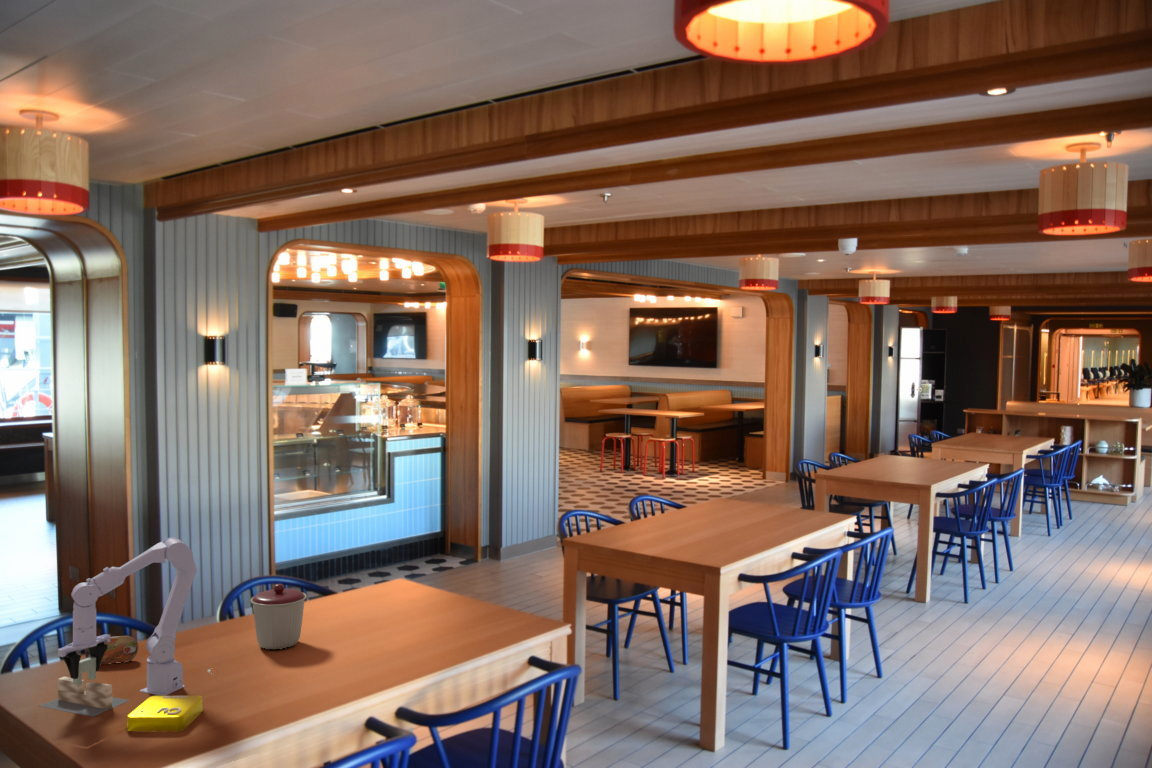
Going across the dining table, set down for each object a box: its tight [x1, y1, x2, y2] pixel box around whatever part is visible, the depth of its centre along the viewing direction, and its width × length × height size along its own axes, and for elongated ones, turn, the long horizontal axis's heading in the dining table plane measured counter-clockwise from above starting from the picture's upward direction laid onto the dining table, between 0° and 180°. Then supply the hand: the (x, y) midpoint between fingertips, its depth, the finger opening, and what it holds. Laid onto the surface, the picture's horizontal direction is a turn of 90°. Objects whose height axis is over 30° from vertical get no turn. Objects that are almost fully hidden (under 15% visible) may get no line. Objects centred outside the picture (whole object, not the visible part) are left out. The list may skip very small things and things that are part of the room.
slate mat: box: [39, 696, 130, 717], centre depth 240 cm, size 20×12×1 cm, turn 70°
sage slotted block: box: [73, 657, 97, 685], centre depth 239 cm, size 2×6×6 cm, turn 155°
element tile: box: [126, 694, 204, 733], centre depth 230 cm, size 15×15×5 cm
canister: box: [250, 583, 308, 650], centre depth 291 cm, size 18×18×21 cm
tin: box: [84, 635, 139, 665], centre depth 273 cm, size 15×3×8 cm, turn 105°
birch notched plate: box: [57, 676, 113, 709], centre depth 240 cm, size 18×2×6 cm, turn 70°
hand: (84, 674), depth 239 cm, fingers closed on sage slotted block, 6 cm apart
